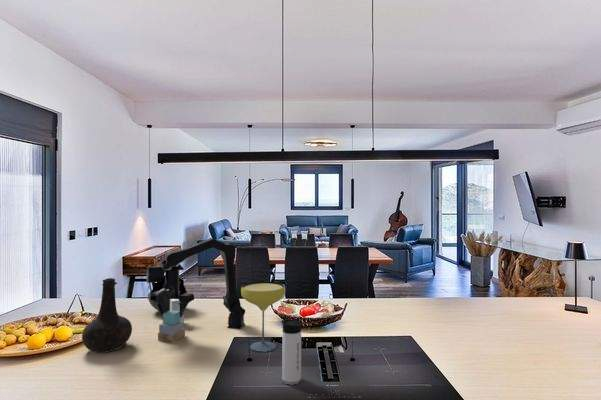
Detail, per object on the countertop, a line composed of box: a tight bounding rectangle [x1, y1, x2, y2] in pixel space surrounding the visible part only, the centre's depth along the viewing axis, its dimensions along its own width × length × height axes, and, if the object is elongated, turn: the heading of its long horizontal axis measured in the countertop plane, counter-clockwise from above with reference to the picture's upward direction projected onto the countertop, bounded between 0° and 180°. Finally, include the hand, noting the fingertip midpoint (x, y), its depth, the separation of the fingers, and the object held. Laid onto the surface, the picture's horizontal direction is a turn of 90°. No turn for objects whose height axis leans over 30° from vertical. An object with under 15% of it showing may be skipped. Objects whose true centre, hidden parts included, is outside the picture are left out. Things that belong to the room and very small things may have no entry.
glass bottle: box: [81, 277, 133, 353], centre depth 148 cm, size 18×18×28 cm
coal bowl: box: [147, 275, 188, 313], centre depth 198 cm, size 20×20×19 cm
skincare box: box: [170, 299, 185, 325], centre depth 177 cm, size 6×4×12 cm
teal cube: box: [162, 310, 180, 325], centre depth 160 cm, size 5×5×4 cm
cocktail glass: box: [240, 281, 286, 353], centre depth 150 cm, size 18×18×25 cm
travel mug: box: [281, 319, 302, 386], centre depth 122 cm, size 6×7×20 cm
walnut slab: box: [157, 328, 186, 343], centre depth 159 cm, size 8×8×4 cm
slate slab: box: [158, 321, 184, 335], centre depth 159 cm, size 7×7×4 cm
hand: (171, 316), depth 160 cm, fingers open, 9 cm apart
